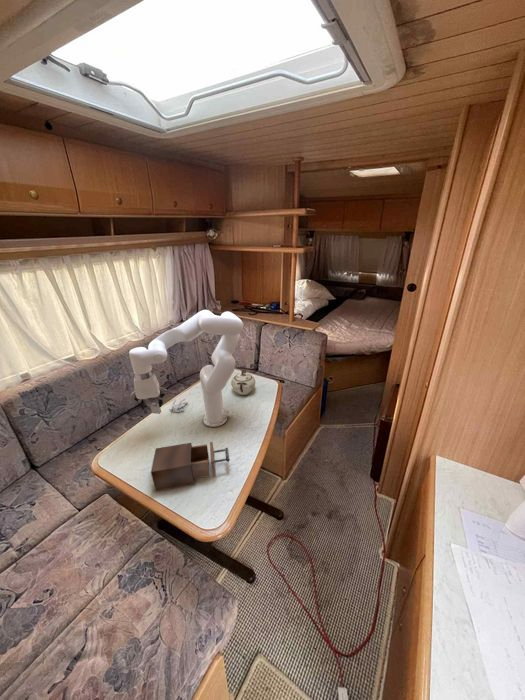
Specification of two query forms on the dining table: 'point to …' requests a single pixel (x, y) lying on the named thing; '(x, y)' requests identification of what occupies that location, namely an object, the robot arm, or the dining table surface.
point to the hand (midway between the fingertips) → (152, 406)
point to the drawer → (204, 460)
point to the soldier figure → (177, 406)
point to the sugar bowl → (243, 383)
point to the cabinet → (172, 466)
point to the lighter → (153, 406)
